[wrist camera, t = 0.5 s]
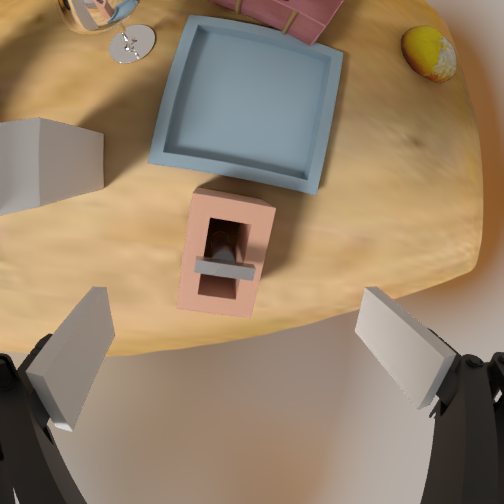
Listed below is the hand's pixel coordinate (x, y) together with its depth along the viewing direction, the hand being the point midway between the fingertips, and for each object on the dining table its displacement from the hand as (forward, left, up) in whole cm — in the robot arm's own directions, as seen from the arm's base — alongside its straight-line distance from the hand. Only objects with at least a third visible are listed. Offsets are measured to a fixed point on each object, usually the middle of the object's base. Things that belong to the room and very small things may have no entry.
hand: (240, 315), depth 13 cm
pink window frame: (0, -2, -22) cm, 22 cm away
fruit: (+26, +35, -23) cm, 49 cm away
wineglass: (-17, +22, -22) cm, 36 cm away
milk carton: (-20, +5, -23) cm, 30 cm away
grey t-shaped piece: (0, -2, -22) cm, 22 cm away
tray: (0, +16, -22) cm, 27 cm away
